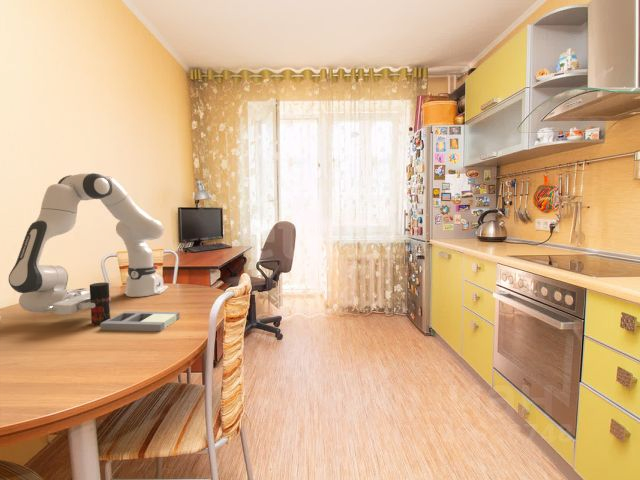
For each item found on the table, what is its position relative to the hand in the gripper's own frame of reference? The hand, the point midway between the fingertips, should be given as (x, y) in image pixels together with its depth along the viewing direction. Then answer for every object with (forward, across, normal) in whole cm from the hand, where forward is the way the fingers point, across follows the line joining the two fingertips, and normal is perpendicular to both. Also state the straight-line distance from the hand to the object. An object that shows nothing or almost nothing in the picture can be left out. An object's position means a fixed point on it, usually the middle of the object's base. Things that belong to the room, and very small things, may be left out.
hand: (102, 302), depth 120 cm
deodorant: (-1, 0, +8) cm, 8 cm away
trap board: (+15, 0, +8) cm, 17 cm away
